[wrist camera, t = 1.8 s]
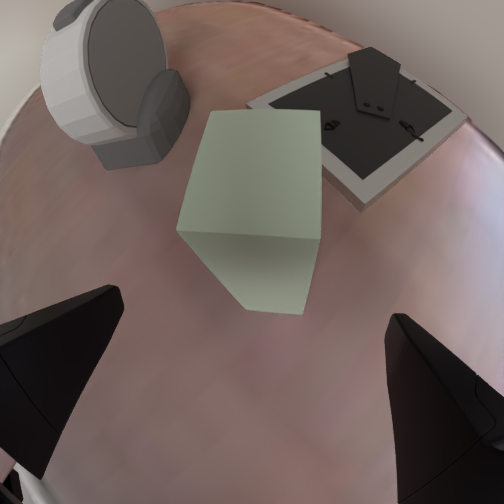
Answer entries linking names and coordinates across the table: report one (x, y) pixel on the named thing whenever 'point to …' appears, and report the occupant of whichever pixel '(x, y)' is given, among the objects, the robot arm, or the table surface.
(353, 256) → the table surface
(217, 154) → the pale green block
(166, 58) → the alarm clock
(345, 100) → the picture frame
